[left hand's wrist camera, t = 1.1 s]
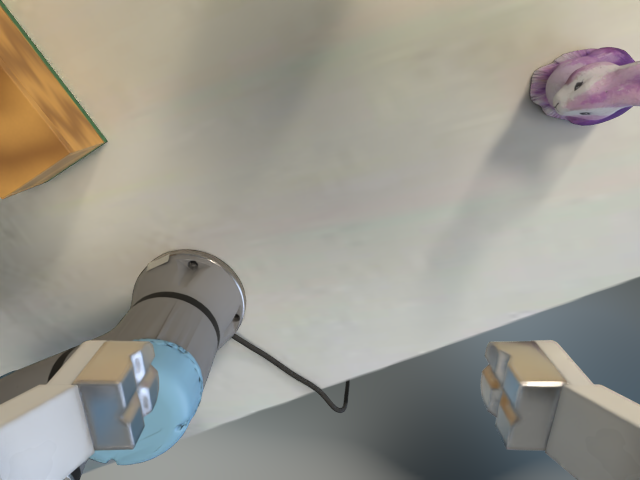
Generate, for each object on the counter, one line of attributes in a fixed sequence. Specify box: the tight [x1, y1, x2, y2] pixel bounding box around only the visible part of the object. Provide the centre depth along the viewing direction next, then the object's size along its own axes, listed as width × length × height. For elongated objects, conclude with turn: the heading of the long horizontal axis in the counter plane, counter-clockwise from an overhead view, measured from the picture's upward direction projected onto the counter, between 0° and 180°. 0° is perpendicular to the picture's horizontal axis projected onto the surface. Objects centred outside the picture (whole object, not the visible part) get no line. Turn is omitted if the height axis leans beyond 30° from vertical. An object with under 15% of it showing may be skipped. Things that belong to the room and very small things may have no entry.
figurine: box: [530, 47, 640, 125], centre depth 43 cm, size 9×10×15 cm
